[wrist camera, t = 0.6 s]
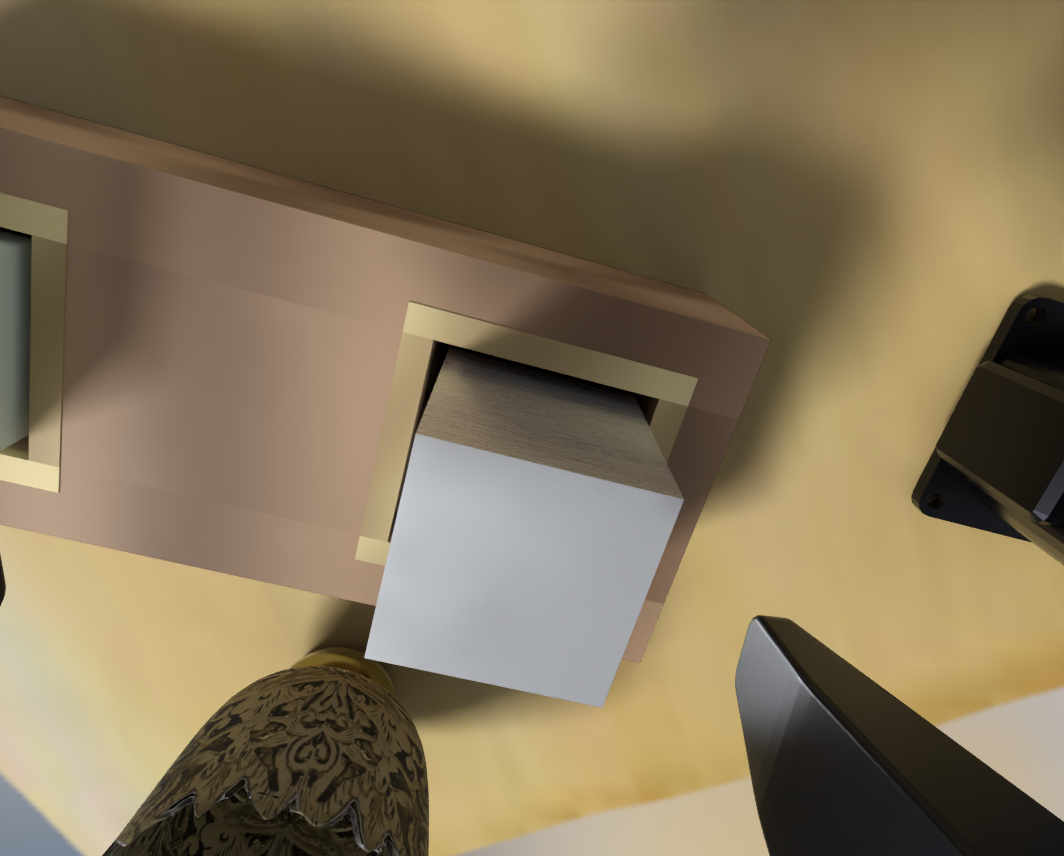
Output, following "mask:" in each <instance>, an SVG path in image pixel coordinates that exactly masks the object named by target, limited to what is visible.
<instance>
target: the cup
mask: <svg viewBox="0 0 1064 856" xmlns="http://www.w3.org/2000/svg"><path fill="white" fill-rule="evenodd" d="M364 656H365V654H364V653H362V652H360V651H357V650H353V649H349V648H341V647H332V648H325V649H321V650H317V651H315V652H312V653H310V654H308V655H307V656H305V657H303V658H302V659H300V660H299V661H298V662H296V663H295V664H294V665H293V666H291V667H290V668H289V669H286V670H283V671H280V672H276V673H274V674H271V675H268V676H266V677H264V678H261V679H259V680H257V681H256V682H254V683H252V684H250V685H249V686H247V687H246V688H244V689H243V690H241V691H240V692H238V693H237V694H236V695H234V696H233V697H232V698H231V699H230V700H228V701H227V702H226V703H225V704H224V705H223V706H222V707H221V708H220V709H219V710H218V711H217V712H216V713H215V714H214V715H213V716H212V717H211V718H210V719H209V720H208V721H207V722H206V723H205V725H204V726H203V727H202V728H201V729H200V730H199V732H198V733H197V734H196V735H195V737H194V738H193V739H192V740H191V741H190V743H189V744H188V745H187V746H186V748H185V749H184V750H183V752H182V753H181V754H180V755H179V757H178V758H177V759H176V761H175V762H174V763H173V765H172V766H171V767H170V768H169V770H168V771H167V772H166V774H165V775H164V776H163V778H162V779H161V780H160V782H159V783H158V784H157V786H156V787H155V788H154V790H153V791H152V792H151V794H150V795H149V796H148V798H147V799H146V800H145V802H144V803H143V804H142V806H141V807H140V808H139V810H138V811H137V812H136V814H135V815H134V816H133V818H132V819H131V820H130V822H129V823H128V824H127V826H126V827H125V828H124V829H123V831H122V832H121V833H120V835H119V836H118V837H117V839H116V840H115V841H114V842H113V844H112V845H111V846H110V847H109V848H108V849H107V851H106V852H105V853H104V854H103V855H102V856H428V847H429V794H428V780H427V768H426V761H425V756H424V751H423V747H422V743H421V740H420V738H419V735H418V732H417V730H416V727H415V725H414V723H413V721H412V719H411V718H410V716H409V715H408V713H407V712H406V711H405V709H404V708H403V706H402V705H401V704H400V703H399V701H398V700H397V699H396V696H395V691H394V688H393V685H392V682H391V680H390V677H389V676H388V674H387V672H386V671H385V669H384V668H383V667H382V666H381V665H380V664H379V663H378V662H377V661H376V660H371V659H366V658H364Z"/></svg>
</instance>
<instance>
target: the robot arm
mask: <svg viewBox="0 0 1064 856" xmlns="http://www.w3.org/2000/svg"><path fill="white" fill-rule="evenodd" d="M1033 308H1035V310H1036V312H1035V315H1034V317H1033V318H1032V319H1031V320H1030V321H1028V322H1027V321H1026V317H1027V314H1028V312H1029V311H1030V310H1031V309H1033ZM936 493H938V494H937V497H936V498H935V500H934V501H932V502H929V503H927V502H928V499H929V498H930V497H931V495H933V494H936ZM912 503H913V504H914V506H915V507H916V508H917V509H918V510H920V511H921V512H922V513H923V514H925V515H927V516H930V517H934V518H938V519H942V520H946V521H950V522H953V523H957V524H961V525H965V526H969V527H973V528H977V529H981V530H985V531H989V532H993V533H997V534H1001V535H1005V536H1009V537H1013V538H1017V539H1021V540H1025V541H1029V542H1033V543H1034V544H1035V545H1037V546H1038V547H1040V548H1041V549H1042V550H1044V551H1045V552H1046V553H1048V554H1049V555H1050V556H1052V557H1053V558H1054V559H1056V560H1057V561H1058V562H1060V563H1061V564H1062V565H1064V303H1062V302H1059V301H1055V300H1052V299H1049V298H1045V297H1041V296H1037V295H1025V296H1022V297H1020V298H1018V299H1017V300H1015V301H1014V302H1013V303H1012V305H1011V306H1010V307H1009V309H1008V311H1007V313H1006V314H1005V316H1004V318H1003V320H1002V322H1001V324H1000V326H999V328H998V330H997V332H996V334H995V335H994V337H993V339H992V341H991V343H990V345H989V347H988V349H987V351H986V353H985V355H984V357H983V358H982V360H981V362H980V364H979V366H978V367H977V368H976V370H975V372H974V374H973V376H972V378H971V379H970V381H969V383H968V385H967V387H966V389H965V391H964V393H963V395H962V397H961V399H960V401H959V402H958V404H957V406H956V408H955V410H954V412H953V414H952V416H951V418H950V420H949V422H948V423H947V425H946V427H945V429H944V431H943V433H942V435H941V437H940V439H939V441H938V443H937V445H936V448H935V450H934V452H933V454H932V456H931V458H930V460H929V462H928V464H927V465H926V467H925V469H924V471H923V473H922V475H921V477H920V479H919V481H918V483H917V485H916V486H915V488H914V490H913V493H912ZM5 590H6V584H5V578H4V572H3V567H2V561H1V555H0V606H1V603H2V601H3V599H4V596H5ZM735 688H736V695H737V701H738V706H739V712H740V718H741V723H742V729H743V735H744V740H745V746H746V752H747V757H748V763H749V769H750V774H751V780H752V786H753V791H754V796H755V801H756V806H757V811H758V815H759V819H760V823H761V827H762V830H763V834H764V838H765V841H766V845H767V848H768V851H769V855H770V856H1064V822H1063V821H1062V820H1061V819H1059V818H1058V817H1057V816H1055V815H1054V814H1053V813H1051V812H1050V811H1048V810H1047V809H1046V808H1044V807H1043V806H1041V805H1040V804H1039V803H1038V802H1036V801H1035V800H1034V799H1032V798H1031V797H1030V796H1028V795H1027V794H1026V793H1024V792H1023V791H1021V790H1020V789H1019V788H1017V787H1016V786H1015V785H1013V784H1012V783H1011V782H1009V781H1008V780H1007V779H1005V778H1004V777H1003V776H1001V775H1000V774H998V773H997V772H995V771H994V770H993V769H991V768H990V767H989V766H988V765H986V764H985V763H984V762H982V761H981V760H980V759H978V758H977V757H975V756H974V755H973V754H971V753H970V752H969V751H967V750H966V749H965V748H963V747H962V746H961V745H959V744H958V743H957V742H955V741H954V740H952V739H951V738H950V737H948V736H947V735H946V734H944V733H943V732H942V731H940V730H939V729H938V728H936V727H935V726H934V725H932V724H931V723H929V722H928V721H927V720H925V719H924V718H923V717H921V716H920V715H919V714H917V713H916V712H915V711H913V710H912V709H911V708H909V707H908V706H906V705H905V704H904V703H902V702H901V701H900V700H898V699H897V698H896V697H894V696H893V695H892V694H890V693H889V692H888V691H886V690H885V689H883V688H882V687H881V686H879V685H878V684H877V683H875V682H874V681H873V680H871V679H870V678H869V677H867V676H866V675H865V674H863V673H862V672H860V671H859V670H858V669H856V668H855V667H854V666H852V665H851V664H850V663H848V662H847V661H846V660H844V659H843V658H842V657H840V656H839V655H837V654H836V653H835V652H833V651H832V650H831V649H829V648H828V647H827V646H825V645H824V644H823V643H821V642H820V641H819V640H817V639H816V638H814V637H813V636H812V635H810V634H809V633H808V632H806V631H805V630H804V629H802V628H801V627H800V626H798V625H797V624H796V623H794V622H793V621H791V620H790V619H787V618H781V617H772V616H763V615H758V616H756V617H754V618H753V619H752V621H751V622H750V624H749V627H748V630H747V634H746V637H745V641H744V644H743V648H742V651H741V655H740V658H739V662H738V665H737V669H736V676H735Z"/></svg>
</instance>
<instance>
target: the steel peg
mask: <svg viewBox="0 0 1064 856" xmlns="http://www.w3.org/2000/svg"><path fill="white" fill-rule="evenodd" d="M683 501H684V498H683V496H682V494H681V492H680V490H679V488H678V486H677V484H676V482H675V480H674V477H673V475H672V473H671V471H670V469H669V467H668V465H667V463H666V461H665V459H664V457H663V455H662V453H661V450H660V448H659V446H658V444H657V442H656V440H655V438H654V436H653V434H652V432H651V430H650V428H649V426H648V423H647V421H646V419H645V417H644V415H643V413H642V411H641V409H640V407H639V405H638V403H637V401H636V399H635V396H633V395H629V394H625V393H621V392H617V391H613V390H610V389H606V388H602V387H598V386H594V385H590V384H587V383H583V382H579V381H575V380H571V379H567V378H564V377H560V376H556V375H552V374H548V373H544V372H541V371H537V370H533V369H529V368H525V367H521V366H518V365H514V364H510V363H506V362H502V361H498V360H495V359H491V358H487V357H483V356H479V355H475V354H471V353H468V352H464V351H460V350H456V349H452V348H449V350H448V353H447V355H446V358H445V360H444V363H443V365H442V368H441V370H440V373H439V376H438V378H437V381H436V383H435V386H434V388H433V391H432V393H431V396H430V398H429V401H428V403H427V406H426V409H425V411H424V414H423V416H422V419H421V421H420V424H419V426H418V429H417V431H416V434H415V438H414V443H413V447H412V452H411V456H410V460H409V465H408V469H407V473H406V478H405V482H404V486H403V491H402V495H401V499H400V504H399V508H398V513H397V517H396V521H395V526H394V530H393V534H392V539H391V543H390V547H389V552H388V556H387V560H386V565H385V569H384V574H383V578H382V582H381V587H380V591H379V595H378V600H377V604H376V608H375V613H374V617H373V621H372V626H371V630H370V634H369V639H368V643H367V648H366V652H365V656H364V658H366V659H371V660H376V661H381V662H385V663H390V664H395V665H400V666H405V667H409V668H414V669H419V670H424V671H429V672H433V673H438V674H443V675H448V676H453V677H457V678H462V679H467V680H472V681H477V682H482V683H486V684H491V685H496V686H501V687H506V688H510V689H515V690H520V691H525V692H530V693H534V694H539V695H544V696H549V697H554V698H558V699H563V700H568V701H573V702H578V703H582V704H587V705H592V706H597V707H603V704H604V702H605V699H606V697H607V694H608V692H609V689H610V687H611V684H612V682H613V679H614V677H615V674H616V671H617V669H618V666H619V664H620V661H621V659H622V656H623V654H624V651H625V649H626V646H627V644H628V641H629V638H630V636H631V633H632V631H633V628H634V626H635V623H636V621H637V618H638V616H639V613H640V610H641V608H642V605H643V603H644V600H645V598H646V595H647V593H648V590H649V588H650V585H651V583H652V580H653V577H654V575H655V572H656V570H657V567H658V565H659V562H660V560H661V557H662V555H663V552H664V549H665V547H666V544H667V542H668V539H669V537H670V534H671V532H672V529H673V527H674V524H675V522H676V519H677V516H678V514H679V511H680V509H681V506H682V504H683Z"/></svg>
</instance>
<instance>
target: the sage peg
mask: <svg viewBox="0 0 1064 856" xmlns="http://www.w3.org/2000/svg"><path fill="white" fill-rule="evenodd" d="M31 255H32V239H30V238H26V237H22V236H19V235H15V234H11V233H7V232H3V231H0V451H1V450H3V449H5V448H7V447H8V446H10V445H12V444H14V443H16V442H17V441H19V440H21V439H23V438H25V437H26V436H28V435H29V394H30V324H31Z"/></svg>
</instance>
